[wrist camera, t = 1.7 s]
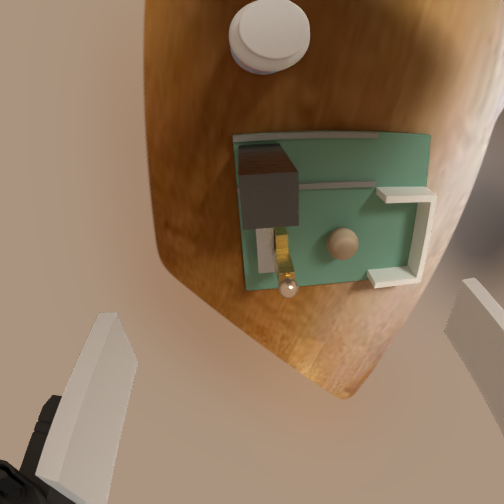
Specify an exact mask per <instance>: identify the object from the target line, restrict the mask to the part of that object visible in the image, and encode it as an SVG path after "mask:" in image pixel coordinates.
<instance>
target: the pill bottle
mask: <svg viewBox="0 0 504 504" xmlns="http://www.w3.org/2000/svg"><path fill="white" fill-rule="evenodd" d="M309 42H310V25H309V21H308V18H307V16H306V14H305V13H304V12H303V10H302V9H301V8H300V7H299V6H297V5H296V4H295V3H293V2H291V1H289V0H257V1H254V2H252V3H249V4H248V5H246V6H244V7H243V8H241V9H240V10H239V11H238V12H237V13H236V15H235V16H234V18H233V19H232V22H231V24H230V28H229V43H230V50H231V54H232V57H233V59H234V60H235V62H236V63H237V64H238V65H239V66H240V67H241V68H242V69H244V70H246V71H248V72H250V73H253V74H258V75H267V74H272V73H275V72H278V71H281V70H284V69H286V68H289V67H291V66H292V65H294V64H295V63H297V62H298V61H299V60H300V59H301V58H302V57H303V56H304V54H305V53H306V51H307V49H308V46H309Z"/></svg>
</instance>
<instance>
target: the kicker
mask: <svg viewBox="0 0 504 504" xmlns="http://www.w3.org/2000/svg"><path fill="white" fill-rule="evenodd" d="M238 177H239V189H240V201H241V213H242V224H243V230H249V229H256V244H257V259H258V271H259V273H270V272H275V269H276V274H277V279H278V285H279V286H278V289H279V292H280V294H281V295H282V296H284V297H286V298H291V297H293V296H295V295H296V294H297V292H298V290H299V285H298V283H297V281H296V280H295V270H294V267H293V263H292V260H291V256H290V252H289V249H288V233H287V230H286V227H290V226H299V179H298V171H297V169H296V168H295V166H294V165H293V163H292V161H291V160H290V158H289V157H288V156H287V154H286V153H285V151H284V150H283V148H282V147H281V145H280V144H279V143H270V144H254V145H240V146H238Z"/></svg>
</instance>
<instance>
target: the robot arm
mask: <svg viewBox="0 0 504 504" xmlns="http://www.w3.org/2000/svg"><path fill="white" fill-rule="evenodd" d="M444 332H445V334H446V335H447V337H448V338H449V340H450V341H451V343H452V345H453V346H454V348H455V349H456V351H457V352H458V354H459V356H460V357H461V359H462V361H463V362H464V364H465V366H466V367H467V369H468V371H469V372H470V374H471V376H472V378H473V379H474V381H475V383H476V384H477V386H478V388H479V390H480V392H481V393H482V395H483V397H484V399H485V401H486V403H487V404H488V406H489V408H490V410H491V412H492V414H493V416H494V418H495V420H496V422H497V423H498V425H499V427H500V429H501V431H502V434H503V436H504V310H503V309H502V308H501V306H500V305H499V304H498V303H497V302H496V300H494V298H493V297H492V296H491V295H490V294H489V293H488V291H487V290H486V289H485V288H484V287H483V286H482V285H481V284H480V282H479V281H478V280H477V279H476V278H471V279H465V280H462V281H461V285H460V288H459V291H458V294H457V297H456V300H455V303H454V306H453V308H452V311H451V314H450V317H449V320H448V323H447V325H446V328H445V330H444ZM138 364H139V363H138V361H137V359H136V356H135V354H134V352H133V350H132V347H131V345H130V342H129V340H128V338H127V335H126V333H125V330H124V328H123V325H122V323H121V320H120V318H119V315H118V313H117V312H107V313H106V312H103V313H99V314H98V317H97V319H96V320H95V322H94V325H93V327H92V329H91V331H90V333H89V335H88V338H87V340H86V342H85V344H84V346H83V349H82V351H81V353H80V355H79V357H78V360H77V362H76V364H75V367H74V369H73V371H72V374H71V376H70V378H69V381H68V383H67V386H66V389H65V391H64V393H63V396H56V395H52V397H51V398H50V399H49V400H48V401H47V402H46V404H45V405H44V406H43V408H42V410H41V413H40V415H39V418H38V422H37V423H36V426H35V428H34V432H33V434H32V436H31V439H30V442H29V445H28V447H27V451H26V453H25V456H24V459H23V462H22V465H21V468H20V470H19V471H18V470H17V469H15V468H14V467H13V466H12V465H11V464H9V463H8V462H7V461H4V460H0V504H107V502H108V495H109V491H110V485H111V480H112V474H113V470H114V464H115V460H116V455H117V450H118V446H119V441H120V436H121V432H122V428H123V423H124V419H125V415H126V411H127V407H128V403H129V399H130V395H131V390H132V387H133V383H134V379H135V375H136V372H137V368H138Z"/></svg>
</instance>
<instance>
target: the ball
mask: <svg viewBox="0 0 504 504" xmlns="http://www.w3.org/2000/svg"><path fill="white" fill-rule="evenodd" d="M326 246H327V250H328V252H329V253H330V255H331V256H332V257H334V258H336V259H338V260H346V259H349V258H351V257H352V256H354V254H355V253H356V252H357V249H358V238H357V236H356V234H355V233H354V232H353V231H352V230H350V229H348V228H345V227H340V228H336V229H334V230H333V231H332V232H331V233H330V234H329V235H328V237H327V241H326Z"/></svg>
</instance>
